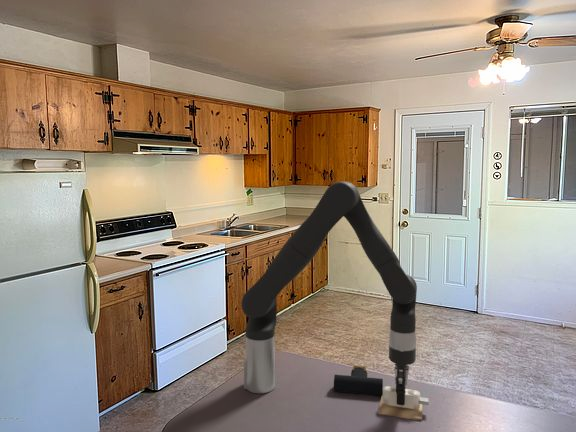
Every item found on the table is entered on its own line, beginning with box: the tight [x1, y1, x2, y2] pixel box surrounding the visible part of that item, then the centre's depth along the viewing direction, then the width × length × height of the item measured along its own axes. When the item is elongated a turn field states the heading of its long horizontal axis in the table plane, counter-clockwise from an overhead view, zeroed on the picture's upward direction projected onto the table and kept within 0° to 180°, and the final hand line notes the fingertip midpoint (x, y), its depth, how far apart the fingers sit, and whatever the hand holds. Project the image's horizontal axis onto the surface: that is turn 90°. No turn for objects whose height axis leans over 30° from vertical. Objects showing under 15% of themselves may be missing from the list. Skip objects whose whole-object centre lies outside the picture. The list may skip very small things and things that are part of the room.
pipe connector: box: [333, 365, 384, 397], centre depth 144 cm, size 12×5×15 cm
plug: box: [383, 385, 430, 409], centre depth 131 cm, size 13×4×4 cm, turn 73°
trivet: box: [377, 395, 423, 422], centre depth 131 cm, size 12×10×1 cm
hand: (401, 400), depth 131 cm, fingers closed on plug, 3 cm apart
